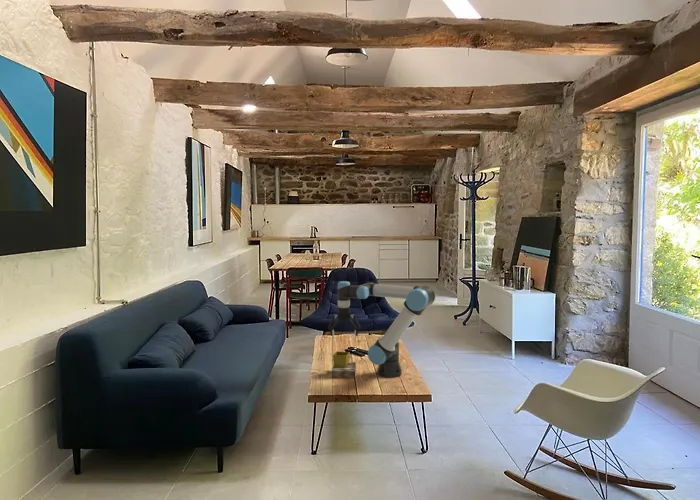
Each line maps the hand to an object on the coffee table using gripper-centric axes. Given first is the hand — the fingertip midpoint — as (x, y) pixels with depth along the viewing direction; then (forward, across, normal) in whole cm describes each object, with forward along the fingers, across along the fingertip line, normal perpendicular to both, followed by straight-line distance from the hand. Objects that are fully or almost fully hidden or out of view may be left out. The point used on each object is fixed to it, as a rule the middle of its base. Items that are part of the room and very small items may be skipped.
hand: (344, 340), depth 300 cm
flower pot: (+17, +2, 0) cm, 17 cm away
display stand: (+21, 0, 0) cm, 21 cm away
